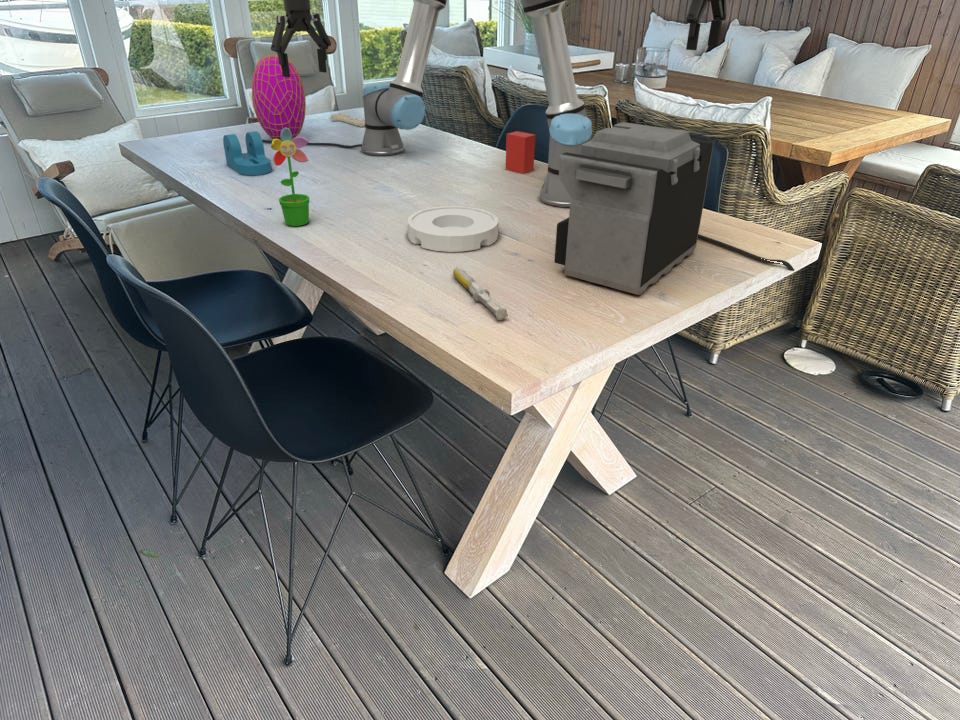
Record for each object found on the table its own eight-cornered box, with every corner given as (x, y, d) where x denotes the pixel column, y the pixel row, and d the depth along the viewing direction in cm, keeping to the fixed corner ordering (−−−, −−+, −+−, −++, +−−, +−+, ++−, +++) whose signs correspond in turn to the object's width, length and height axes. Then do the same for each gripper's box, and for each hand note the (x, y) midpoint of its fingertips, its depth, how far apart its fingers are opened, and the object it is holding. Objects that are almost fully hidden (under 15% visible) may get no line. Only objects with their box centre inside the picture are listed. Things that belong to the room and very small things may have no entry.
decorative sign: (321, 115, 300) (341, 112, 306) (322, 117, 301) (341, 114, 307) (354, 125, 284) (374, 122, 289) (354, 127, 284) (374, 124, 290)
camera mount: (227, 164, 233) (221, 132, 227) (257, 160, 238) (252, 129, 233) (244, 176, 220) (239, 143, 215) (276, 172, 225) (271, 139, 220)
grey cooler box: (618, 231, 180) (632, 112, 165) (700, 250, 169) (723, 124, 154) (546, 276, 154) (555, 139, 139) (637, 301, 143) (657, 156, 128)
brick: (515, 166, 236) (516, 131, 230) (533, 170, 231) (535, 134, 225) (505, 169, 232) (506, 133, 226) (523, 173, 228) (525, 137, 222)
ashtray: (413, 219, 187) (412, 204, 185) (498, 221, 186) (498, 206, 184) (402, 250, 167) (401, 235, 165) (497, 252, 166) (498, 237, 164)
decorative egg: (293, 132, 276) (283, 50, 261) (319, 140, 264) (310, 56, 249) (249, 139, 265) (236, 54, 250) (273, 148, 253) (261, 60, 238)
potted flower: (284, 229, 179) (270, 130, 166) (277, 220, 185) (263, 124, 172) (319, 224, 183) (308, 127, 170) (311, 215, 188) (300, 121, 176)
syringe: (449, 274, 155) (449, 263, 153) (465, 272, 156) (464, 260, 154) (490, 323, 135) (491, 310, 133) (508, 319, 136) (508, 307, 134)
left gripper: (322, -7, 209) (329, 68, 219) (251, -4, 192) (262, 77, 203) (338, -6, 204) (345, 71, 215) (266, -3, 188) (277, 80, 199)
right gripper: (722, -41, 191) (708, 43, 202) (681, -41, 174) (668, 50, 185) (748, -40, 187) (733, 45, 197) (709, -41, 170) (694, 52, 181)
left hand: (305, 74), depth 209 cm, fingers open, 13 cm apart
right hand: (702, 48), depth 191 cm, fingers open, 13 cm apart
